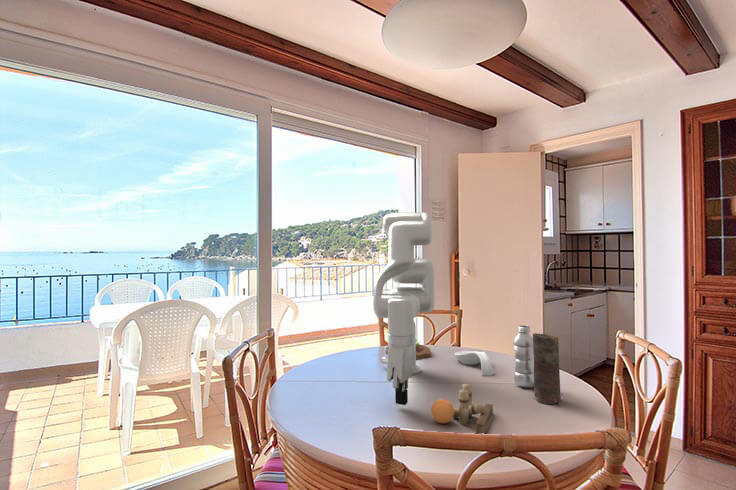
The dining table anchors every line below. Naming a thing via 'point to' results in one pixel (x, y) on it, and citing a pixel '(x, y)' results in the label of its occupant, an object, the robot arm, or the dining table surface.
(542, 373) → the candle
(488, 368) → the spoon rest
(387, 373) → the robot arm
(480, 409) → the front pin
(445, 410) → the ball
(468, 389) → the pin
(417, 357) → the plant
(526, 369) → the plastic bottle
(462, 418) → the pin
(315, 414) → the dining table surface
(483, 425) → the brown wooden bar
